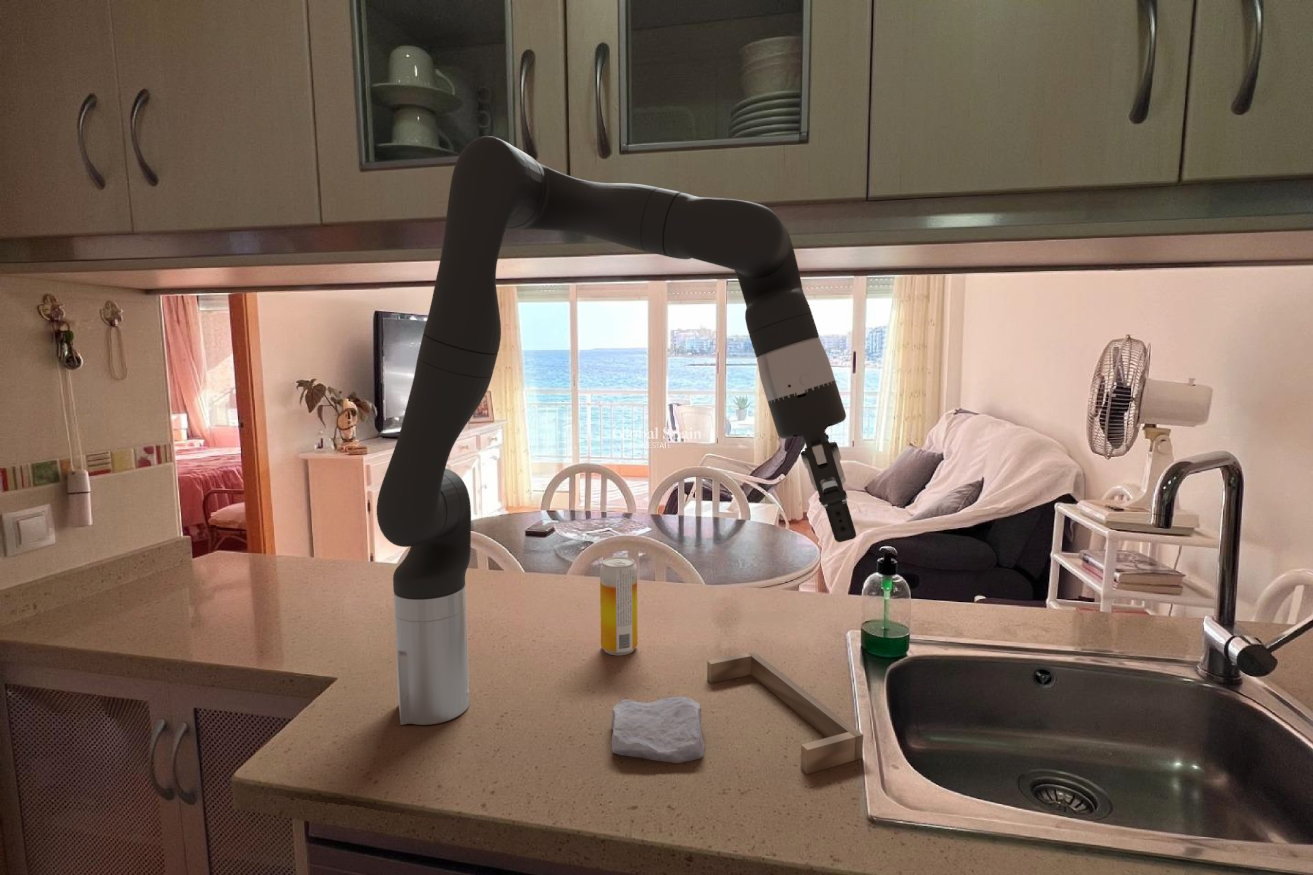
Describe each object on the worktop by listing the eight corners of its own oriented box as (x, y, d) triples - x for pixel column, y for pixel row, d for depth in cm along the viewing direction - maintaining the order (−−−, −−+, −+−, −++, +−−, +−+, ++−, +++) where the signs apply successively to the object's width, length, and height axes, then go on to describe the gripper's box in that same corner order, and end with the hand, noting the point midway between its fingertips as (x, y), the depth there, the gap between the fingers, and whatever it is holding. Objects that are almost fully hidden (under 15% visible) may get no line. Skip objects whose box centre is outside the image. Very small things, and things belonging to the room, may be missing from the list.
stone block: (708, 776, 81) (700, 717, 91) (708, 744, 80) (700, 688, 89) (609, 781, 81) (612, 722, 90) (607, 749, 79) (610, 692, 89)
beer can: (627, 638, 116) (627, 554, 114) (643, 652, 111) (643, 563, 109) (595, 645, 113) (594, 559, 112) (610, 659, 108) (609, 569, 106)
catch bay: (806, 774, 78) (807, 749, 78) (707, 679, 101) (707, 660, 101) (862, 757, 81) (863, 734, 81) (753, 669, 104) (753, 651, 104)
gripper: (770, 397, 81) (810, 526, 81) (761, 400, 67) (810, 555, 67) (832, 377, 79) (873, 509, 79) (836, 376, 65) (886, 536, 65)
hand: (844, 530), depth 73 cm, fingers open, 8 cm apart
